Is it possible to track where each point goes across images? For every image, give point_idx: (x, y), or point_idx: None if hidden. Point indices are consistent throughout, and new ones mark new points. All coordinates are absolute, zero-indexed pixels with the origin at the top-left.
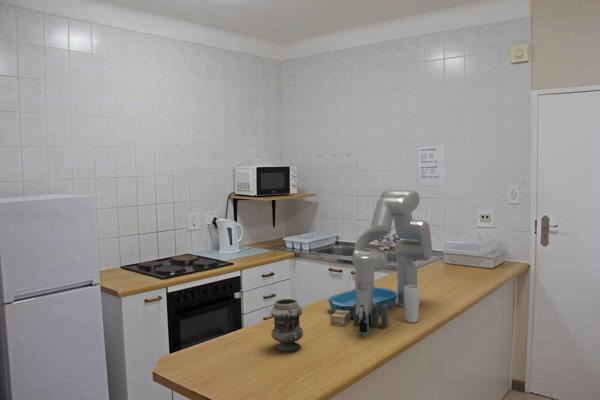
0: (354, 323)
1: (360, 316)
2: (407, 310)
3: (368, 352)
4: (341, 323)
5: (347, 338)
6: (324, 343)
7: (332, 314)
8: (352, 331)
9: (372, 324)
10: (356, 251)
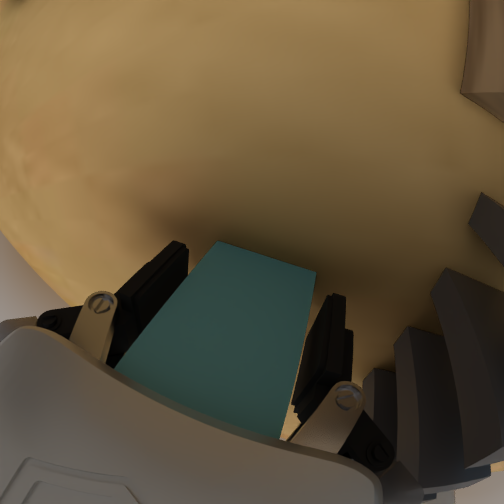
0: (487, 207)
1: (7, 334)
2: None
3: (49, 251)
4: (478, 67)
5: (143, 131)
6: (66, 29)
7: None
8: (323, 161)
9: (408, 346)
10: None
